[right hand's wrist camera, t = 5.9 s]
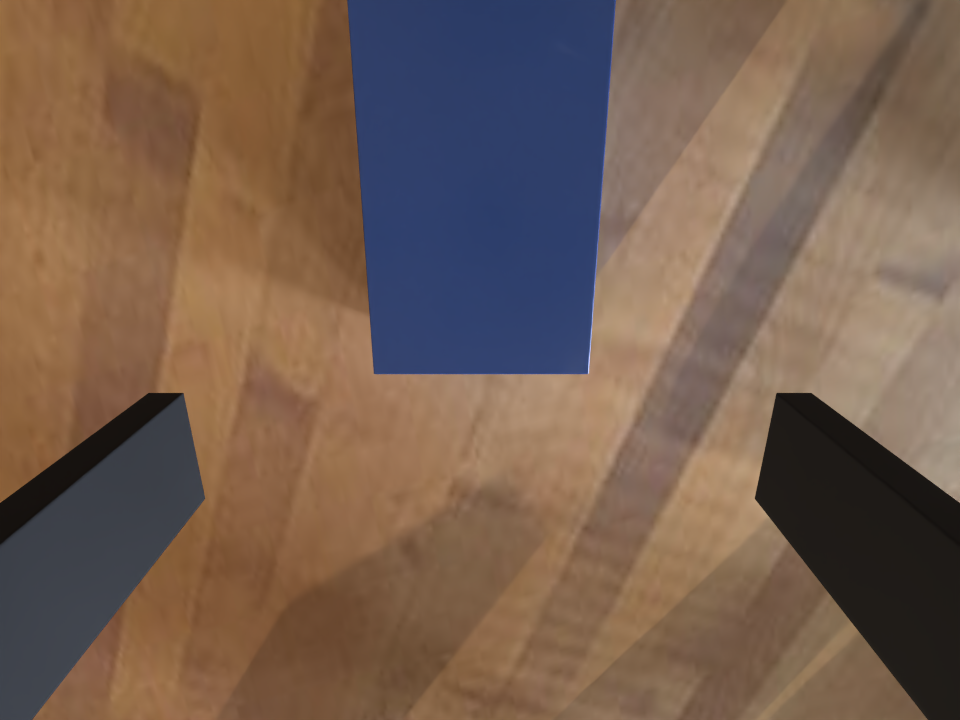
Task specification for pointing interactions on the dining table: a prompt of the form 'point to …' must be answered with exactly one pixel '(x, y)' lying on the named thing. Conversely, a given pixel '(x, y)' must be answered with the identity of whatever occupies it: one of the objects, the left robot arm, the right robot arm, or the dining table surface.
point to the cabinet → (481, 180)
